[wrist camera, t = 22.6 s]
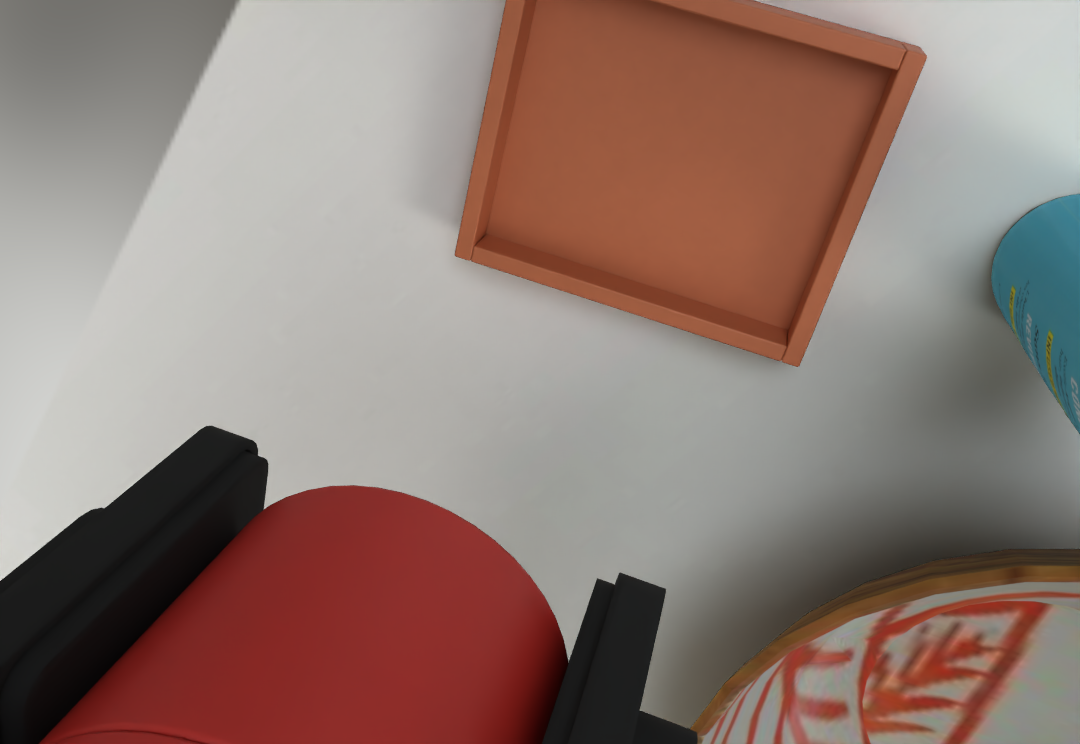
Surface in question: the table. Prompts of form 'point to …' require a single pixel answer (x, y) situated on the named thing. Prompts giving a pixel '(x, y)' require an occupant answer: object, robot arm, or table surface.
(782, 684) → the bowl
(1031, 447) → the table surface
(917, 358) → the table surface
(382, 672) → the cap
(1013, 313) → the tube
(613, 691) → the robot arm
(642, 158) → the tray
